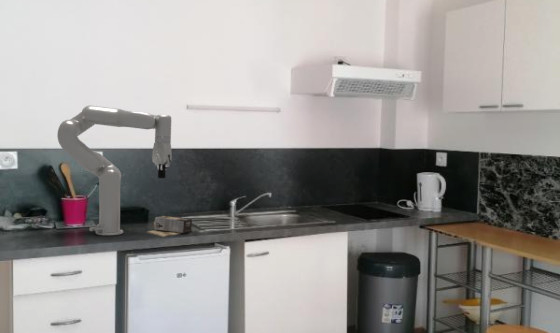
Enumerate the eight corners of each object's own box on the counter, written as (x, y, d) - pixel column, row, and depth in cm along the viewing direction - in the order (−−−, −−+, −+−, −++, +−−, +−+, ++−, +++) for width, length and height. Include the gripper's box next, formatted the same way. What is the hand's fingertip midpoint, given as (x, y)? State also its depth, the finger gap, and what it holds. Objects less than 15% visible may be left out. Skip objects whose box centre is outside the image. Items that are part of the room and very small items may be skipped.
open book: (162, 236, 251) (162, 235, 251) (146, 232, 259) (146, 231, 259) (181, 233, 259) (181, 232, 259) (165, 229, 268) (165, 228, 267)
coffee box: (163, 215, 270) (192, 218, 266) (162, 227, 270) (191, 231, 266) (154, 217, 261) (185, 220, 257) (153, 229, 261) (184, 233, 257)
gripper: (147, 139, 259) (146, 176, 261) (165, 141, 250) (164, 179, 251) (159, 139, 265) (158, 176, 266) (178, 141, 255) (177, 179, 256)
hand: (161, 177), depth 258 cm, fingers closed
